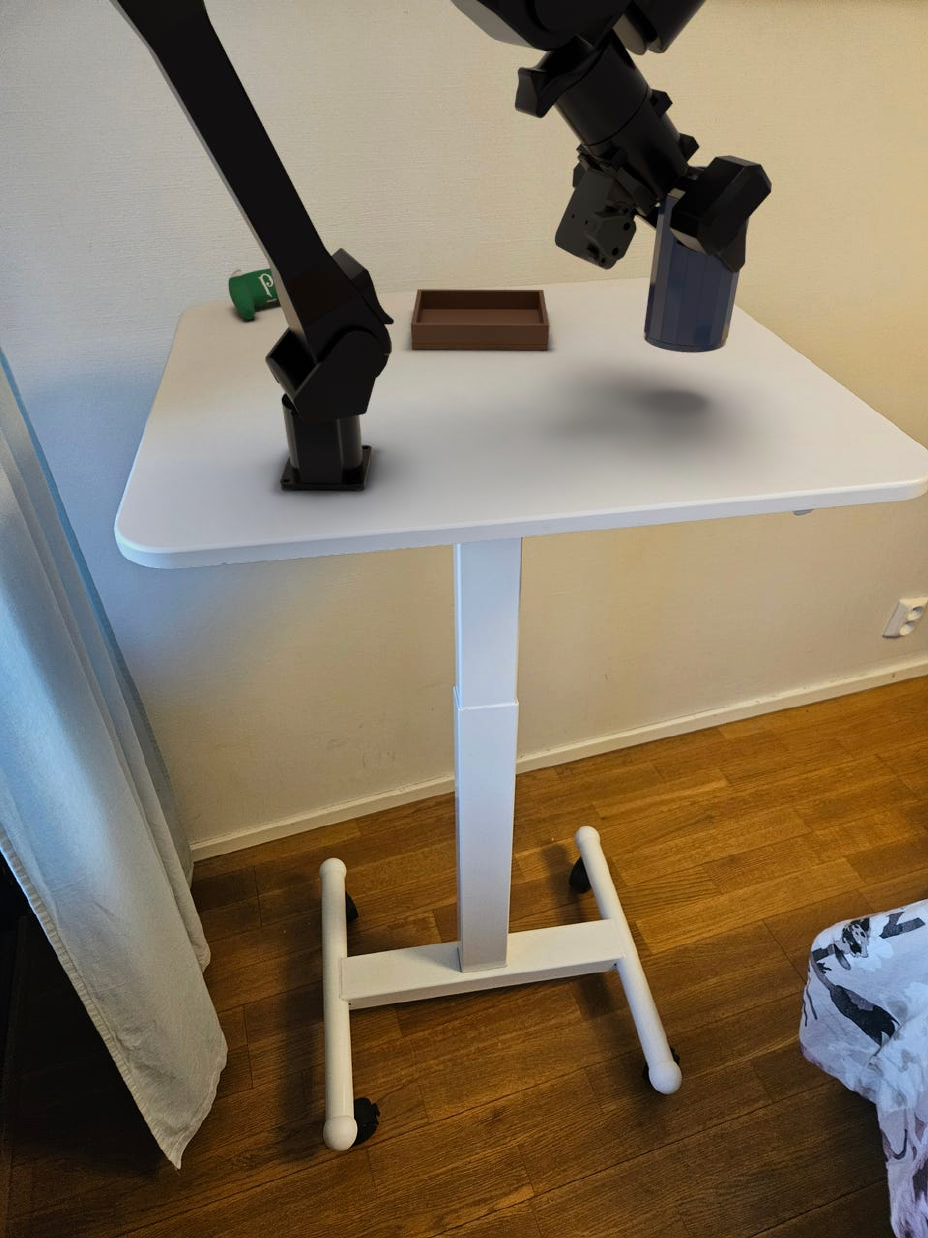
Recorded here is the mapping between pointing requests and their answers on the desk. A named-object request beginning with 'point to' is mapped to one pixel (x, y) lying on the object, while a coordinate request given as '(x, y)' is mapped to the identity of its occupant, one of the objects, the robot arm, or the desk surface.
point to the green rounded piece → (251, 290)
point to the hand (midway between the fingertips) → (710, 255)
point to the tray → (480, 320)
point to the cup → (687, 294)
